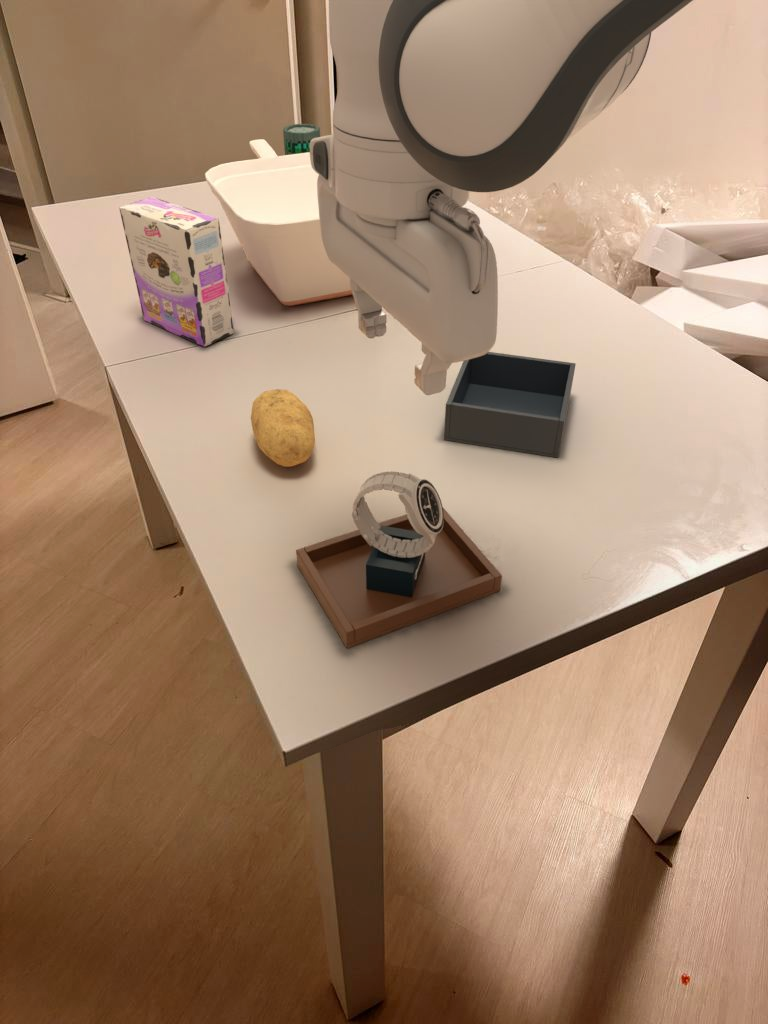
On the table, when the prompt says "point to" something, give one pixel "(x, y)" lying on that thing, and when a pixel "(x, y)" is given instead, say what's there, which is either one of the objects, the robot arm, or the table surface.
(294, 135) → the can
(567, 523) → the table surface
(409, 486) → the watch
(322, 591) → the tray
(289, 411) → the potato
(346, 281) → the pot
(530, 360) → the bin
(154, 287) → the candy box
